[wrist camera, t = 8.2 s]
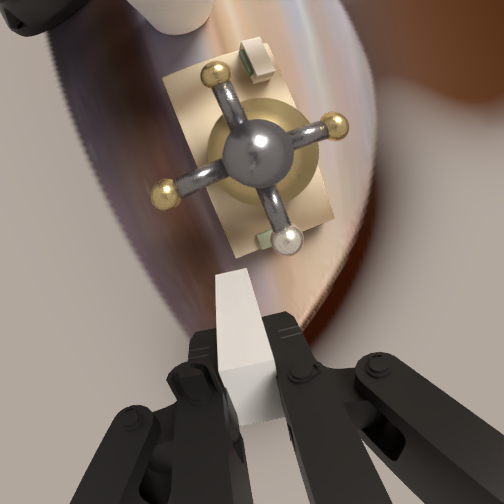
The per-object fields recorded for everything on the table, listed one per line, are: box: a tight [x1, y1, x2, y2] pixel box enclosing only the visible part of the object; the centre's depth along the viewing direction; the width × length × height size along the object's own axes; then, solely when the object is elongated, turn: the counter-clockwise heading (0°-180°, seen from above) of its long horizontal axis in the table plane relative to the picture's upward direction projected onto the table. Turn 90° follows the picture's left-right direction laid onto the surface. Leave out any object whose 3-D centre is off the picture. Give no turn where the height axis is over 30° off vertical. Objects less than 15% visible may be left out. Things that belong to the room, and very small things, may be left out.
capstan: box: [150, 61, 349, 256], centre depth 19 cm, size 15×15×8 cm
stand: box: [162, 37, 335, 259], centre depth 23 cm, size 18×10×5 cm, turn 21°
